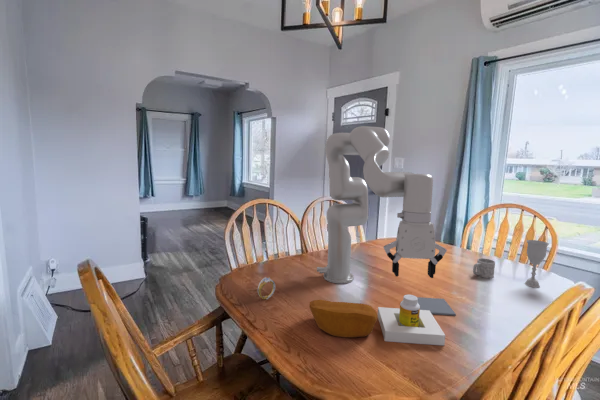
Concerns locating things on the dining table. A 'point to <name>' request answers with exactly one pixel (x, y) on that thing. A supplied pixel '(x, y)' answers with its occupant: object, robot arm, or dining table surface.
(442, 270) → the dining table surface
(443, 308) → the slate mat
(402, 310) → the supplement bottle
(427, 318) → the pocket block
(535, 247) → the chalice
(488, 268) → the mug
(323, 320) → the bread
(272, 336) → the dining table surface
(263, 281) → the ring
